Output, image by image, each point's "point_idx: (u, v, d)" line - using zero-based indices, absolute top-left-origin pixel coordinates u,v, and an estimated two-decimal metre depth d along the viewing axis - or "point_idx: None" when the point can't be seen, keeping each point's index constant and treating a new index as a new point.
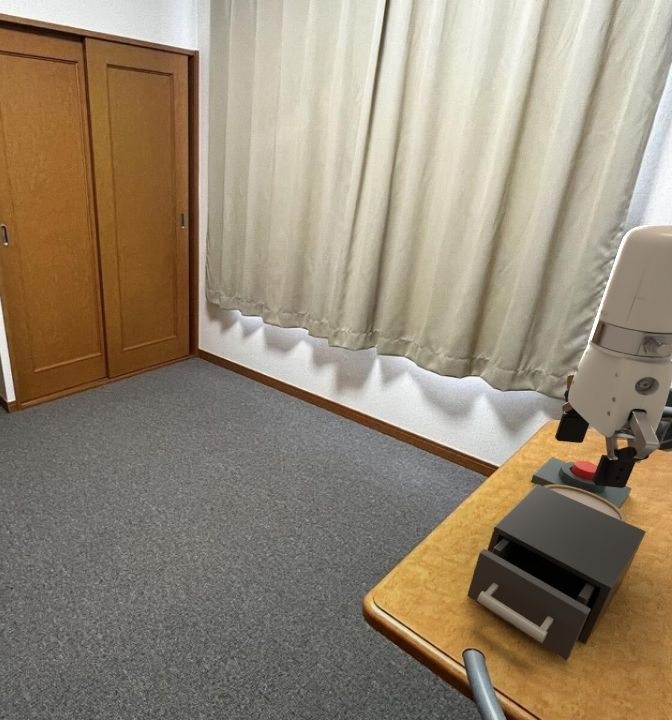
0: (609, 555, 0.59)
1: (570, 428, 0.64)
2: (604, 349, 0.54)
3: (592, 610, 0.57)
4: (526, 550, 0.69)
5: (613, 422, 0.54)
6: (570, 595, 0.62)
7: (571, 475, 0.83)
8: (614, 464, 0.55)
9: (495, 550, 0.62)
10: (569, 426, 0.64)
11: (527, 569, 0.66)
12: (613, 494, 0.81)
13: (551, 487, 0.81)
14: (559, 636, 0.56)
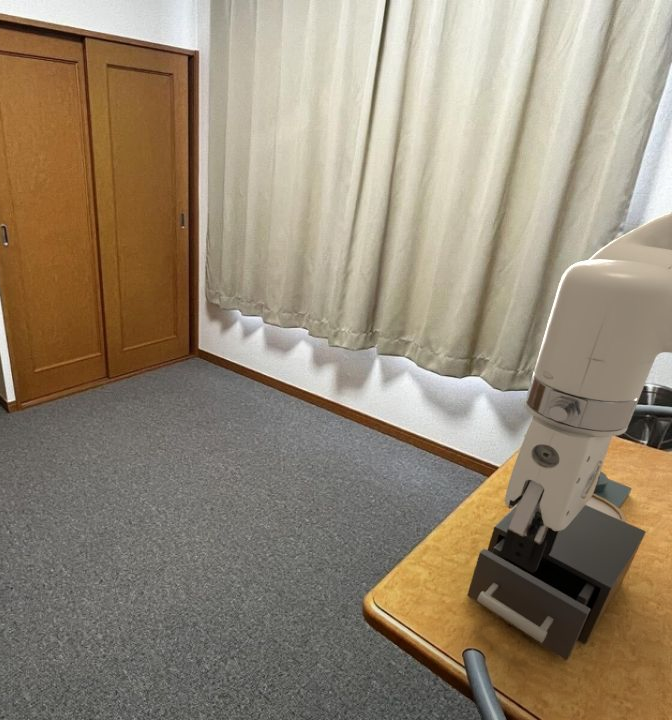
0: (609, 555, 0.59)
1: None
2: (525, 402, 0.45)
3: (592, 610, 0.57)
4: None
5: (509, 489, 0.45)
6: (570, 595, 0.62)
7: None
8: (515, 536, 0.48)
9: (495, 550, 0.62)
10: None
11: None
12: (613, 494, 0.81)
13: None
14: (559, 636, 0.56)
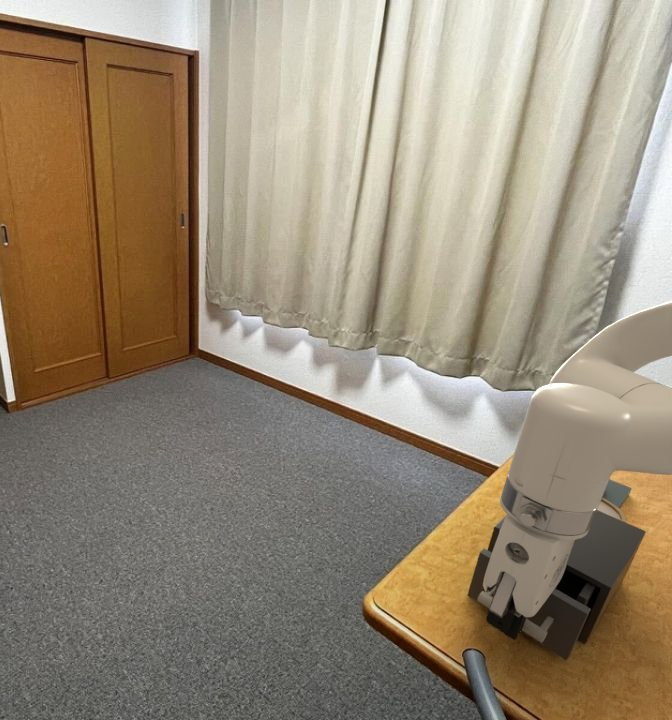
0: (609, 555, 0.59)
1: None
2: (501, 499, 0.50)
3: (592, 610, 0.57)
4: None
5: (486, 576, 0.50)
6: (570, 595, 0.63)
7: None
8: None
9: None
10: None
11: None
12: (613, 494, 0.81)
13: None
14: (559, 636, 0.56)
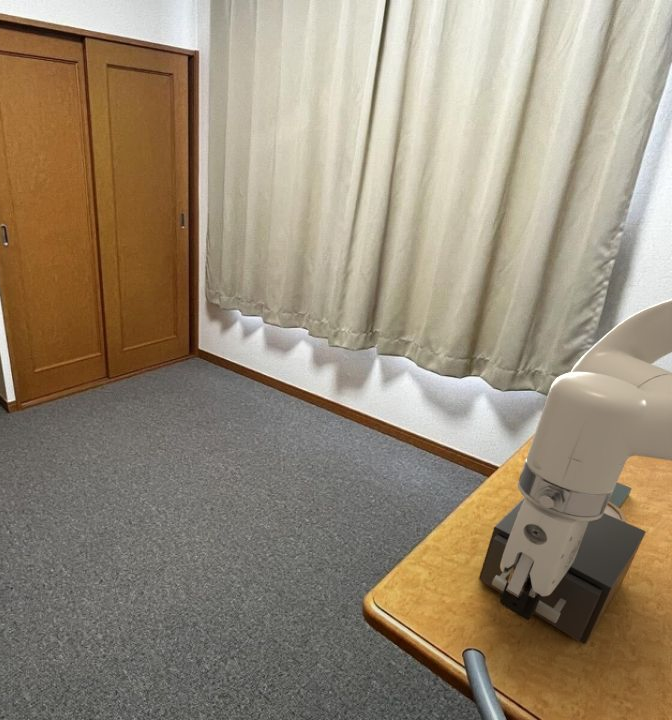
0: (609, 555, 0.59)
1: None
2: (519, 483, 0.52)
3: None
4: None
5: (504, 558, 0.52)
6: None
7: None
8: None
9: None
10: None
11: None
12: (613, 494, 0.81)
13: None
14: (571, 617, 0.58)
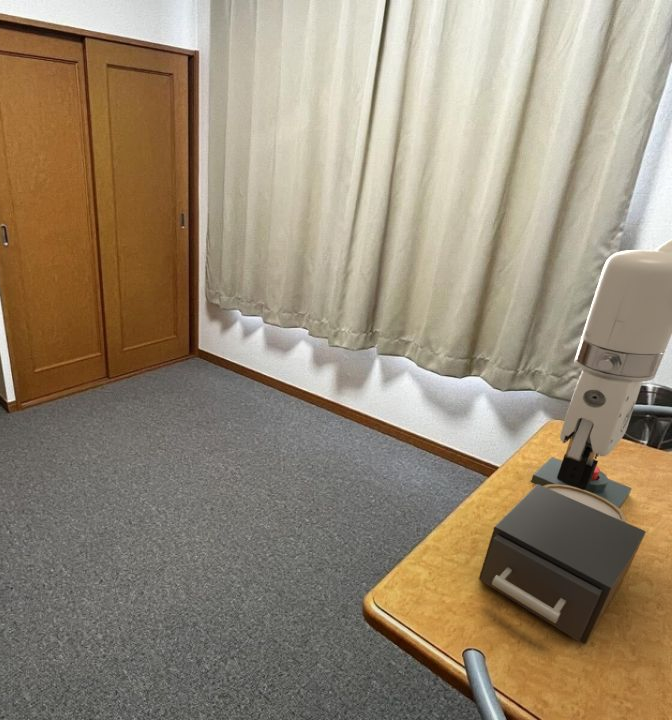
0: (609, 555, 0.59)
1: None
2: (575, 360, 0.58)
3: None
4: None
5: (564, 427, 0.58)
6: None
7: None
8: (569, 462, 0.62)
9: None
10: None
11: (538, 556, 0.69)
12: (613, 494, 0.81)
13: (551, 487, 0.81)
14: (571, 617, 0.58)
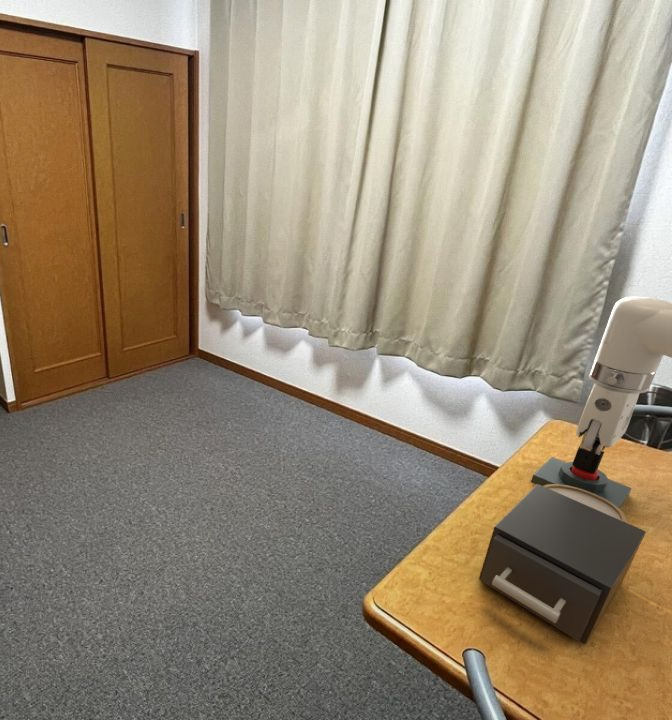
0: (609, 555, 0.59)
1: None
2: (589, 375, 0.78)
3: None
4: None
5: (579, 425, 0.78)
6: None
7: (571, 475, 0.83)
8: (582, 452, 0.82)
9: None
10: None
11: (538, 556, 0.69)
12: (613, 494, 0.81)
13: (551, 487, 0.81)
14: (571, 617, 0.58)
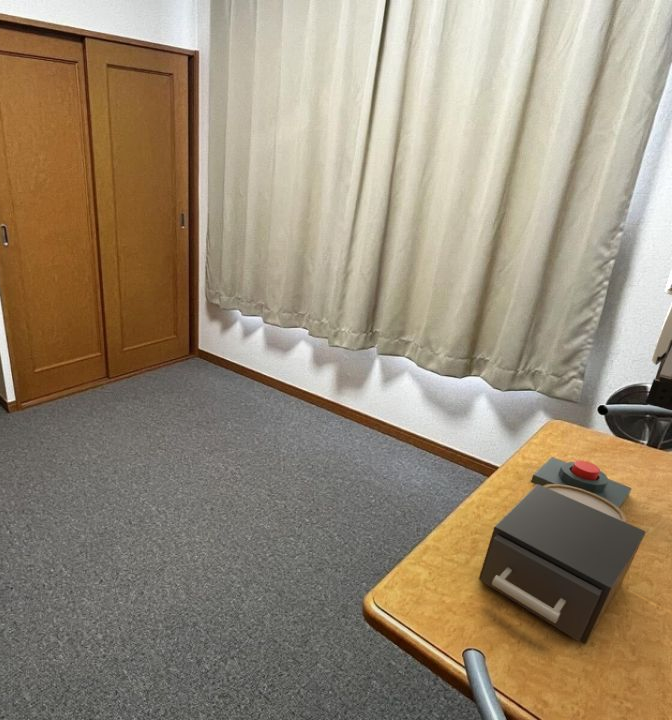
0: (609, 555, 0.59)
1: None
2: (666, 289, 0.66)
3: None
4: None
5: (656, 349, 0.66)
6: None
7: (571, 475, 0.83)
8: (659, 385, 0.69)
9: None
10: None
11: (538, 556, 0.69)
12: (613, 494, 0.81)
13: (551, 486, 0.81)
14: (571, 617, 0.58)
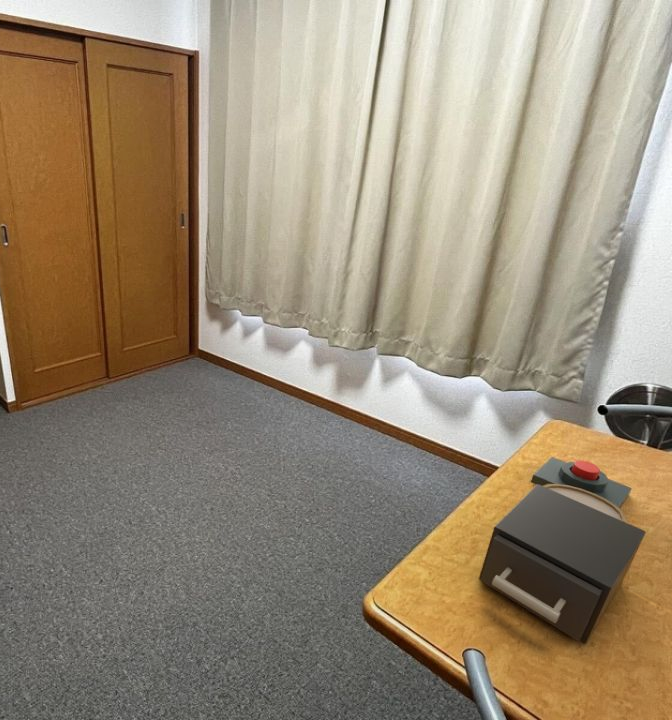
0: (609, 555, 0.59)
1: None
2: None
3: None
4: None
5: None
6: None
7: (571, 475, 0.83)
8: None
9: None
10: None
11: (538, 556, 0.69)
12: (613, 494, 0.81)
13: (551, 486, 0.81)
14: (571, 617, 0.58)
